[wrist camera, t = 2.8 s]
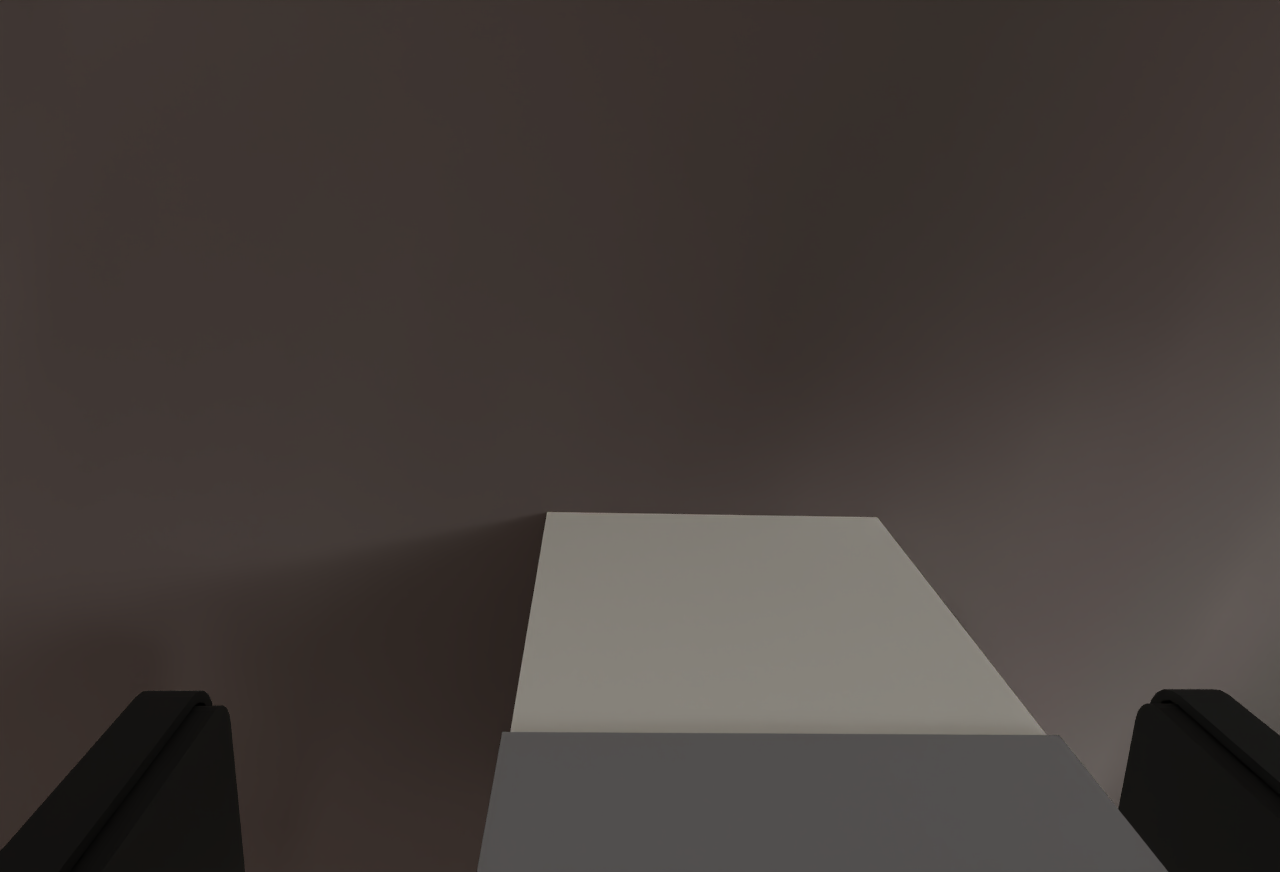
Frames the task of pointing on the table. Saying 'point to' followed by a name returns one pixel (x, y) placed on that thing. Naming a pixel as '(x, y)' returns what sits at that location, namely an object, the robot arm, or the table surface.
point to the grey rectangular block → (772, 715)
